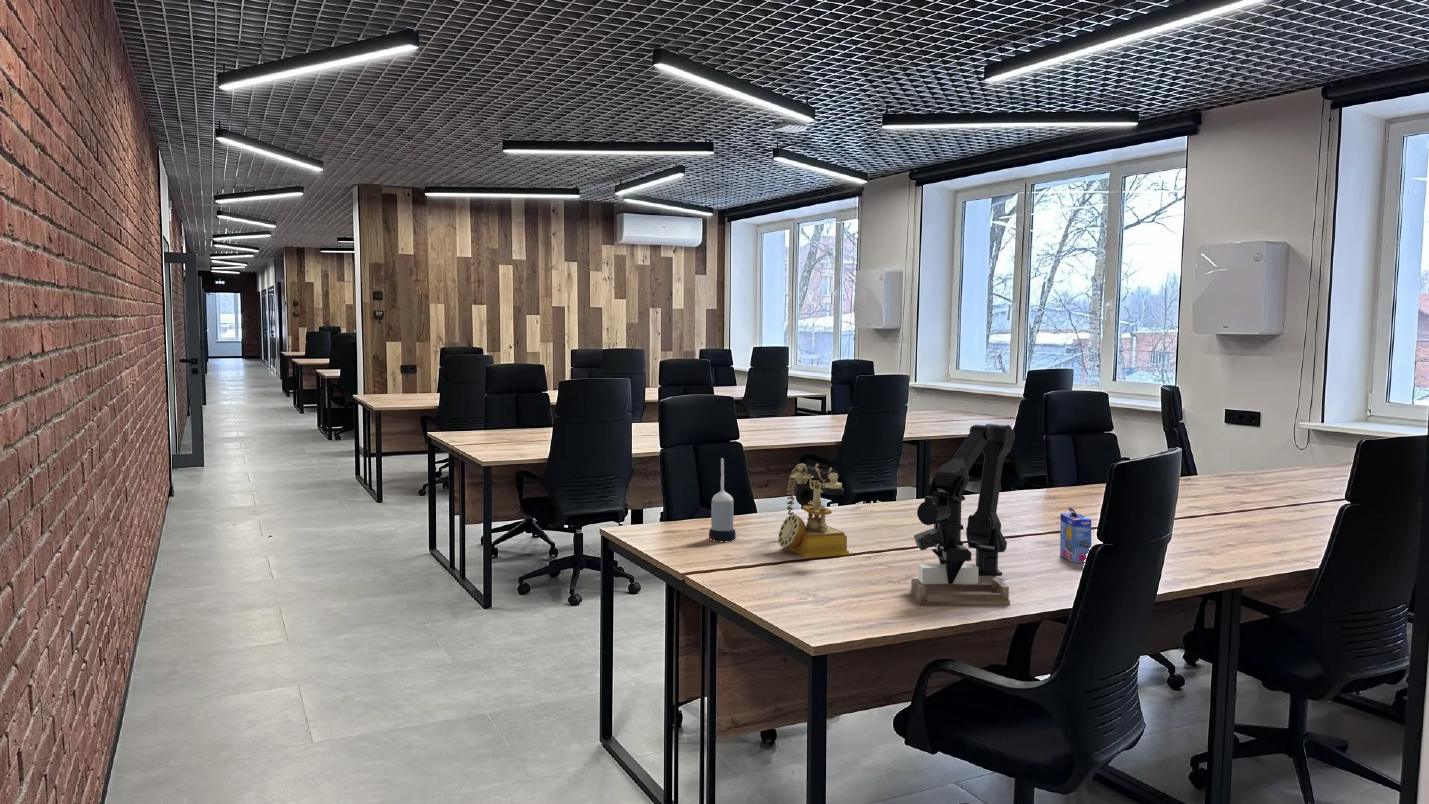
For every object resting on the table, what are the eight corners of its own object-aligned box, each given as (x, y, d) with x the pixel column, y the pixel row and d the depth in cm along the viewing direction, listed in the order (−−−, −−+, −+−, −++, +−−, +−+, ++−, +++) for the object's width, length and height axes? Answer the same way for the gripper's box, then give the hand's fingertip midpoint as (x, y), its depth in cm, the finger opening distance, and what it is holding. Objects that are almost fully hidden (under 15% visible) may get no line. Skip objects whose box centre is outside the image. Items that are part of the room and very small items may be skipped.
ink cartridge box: (1058, 554, 277) (1059, 504, 276) (1077, 554, 278) (1078, 504, 277) (1072, 563, 268) (1073, 511, 267) (1091, 562, 268) (1093, 511, 267)
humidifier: (706, 541, 294) (706, 459, 292) (712, 536, 302) (712, 456, 300) (732, 542, 292) (732, 460, 290) (738, 537, 300) (738, 457, 298)
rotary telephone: (752, 538, 298) (753, 457, 297) (804, 534, 304) (805, 455, 303) (801, 564, 265) (802, 473, 263) (858, 559, 271) (860, 470, 269)
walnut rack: (910, 594, 234) (910, 577, 234) (995, 593, 235) (996, 577, 235) (920, 605, 224) (920, 588, 224) (1010, 604, 225) (1010, 588, 225)
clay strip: (918, 583, 245) (918, 564, 244) (973, 583, 245) (973, 563, 245) (922, 587, 241) (922, 568, 240) (978, 587, 241) (978, 567, 241)
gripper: (908, 513, 251) (907, 572, 252) (926, 527, 232) (925, 591, 233) (950, 512, 251) (949, 572, 252) (972, 527, 233) (971, 591, 234)
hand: (947, 581), depth 243 cm, fingers closed on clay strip, 4 cm apart
